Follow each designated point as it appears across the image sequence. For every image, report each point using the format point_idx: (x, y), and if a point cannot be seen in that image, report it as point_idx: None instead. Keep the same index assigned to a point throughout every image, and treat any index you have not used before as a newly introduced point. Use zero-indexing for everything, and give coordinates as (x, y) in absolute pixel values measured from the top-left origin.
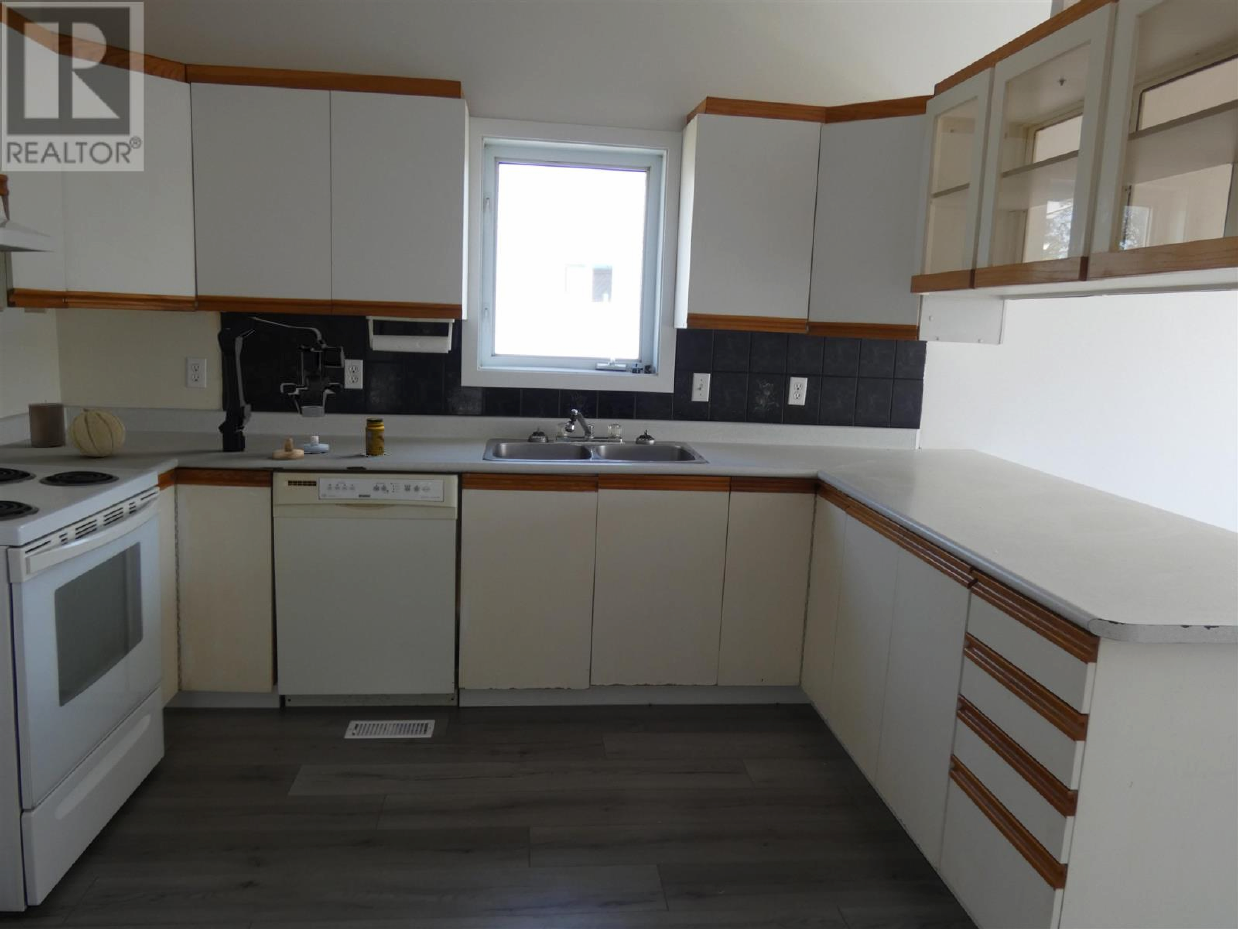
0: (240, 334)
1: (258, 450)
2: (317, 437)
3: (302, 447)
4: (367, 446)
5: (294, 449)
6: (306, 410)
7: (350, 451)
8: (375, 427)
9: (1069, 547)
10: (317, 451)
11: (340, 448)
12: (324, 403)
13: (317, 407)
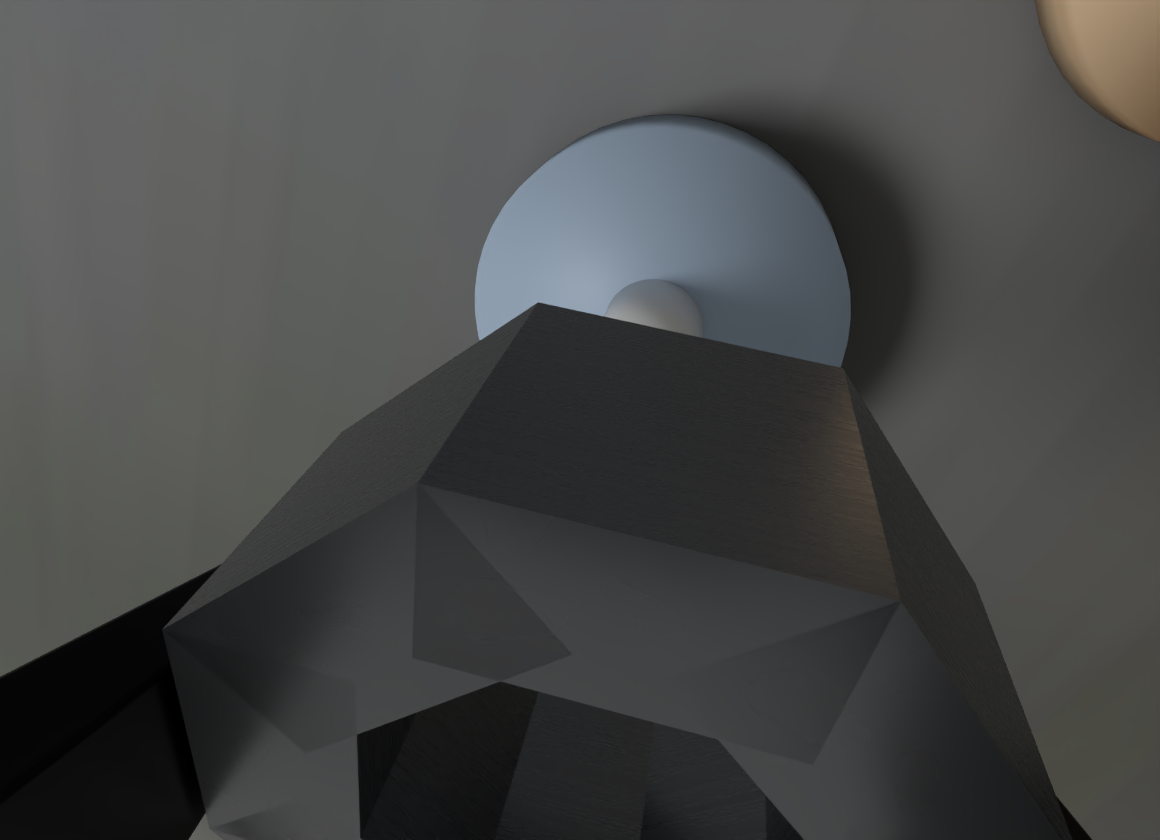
0: None
1: (1154, 645)
2: None
3: (849, 293)
4: None
5: (1136, 66)
6: (956, 642)
7: (265, 101)
8: None
9: None
10: (695, 123)
11: (336, 371)
12: (28, 823)
13: (417, 710)
